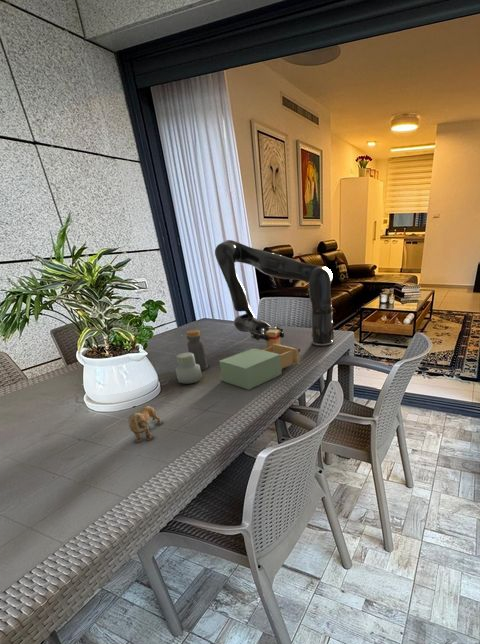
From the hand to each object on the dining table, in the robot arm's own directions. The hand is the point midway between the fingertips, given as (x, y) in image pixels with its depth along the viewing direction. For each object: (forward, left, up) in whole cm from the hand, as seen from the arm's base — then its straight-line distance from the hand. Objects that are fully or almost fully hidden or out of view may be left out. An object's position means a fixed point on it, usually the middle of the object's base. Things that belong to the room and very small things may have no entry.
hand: (275, 336), depth 146 cm
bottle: (+27, -16, -9) cm, 33 cm away
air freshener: (+37, -8, -9) cm, 39 cm away
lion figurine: (+66, +15, -9) cm, 68 cm away
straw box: (-1, -2, -6) cm, 6 cm away
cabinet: (+22, +9, -8) cm, 25 cm away
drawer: (+9, +9, -8) cm, 14 cm away
